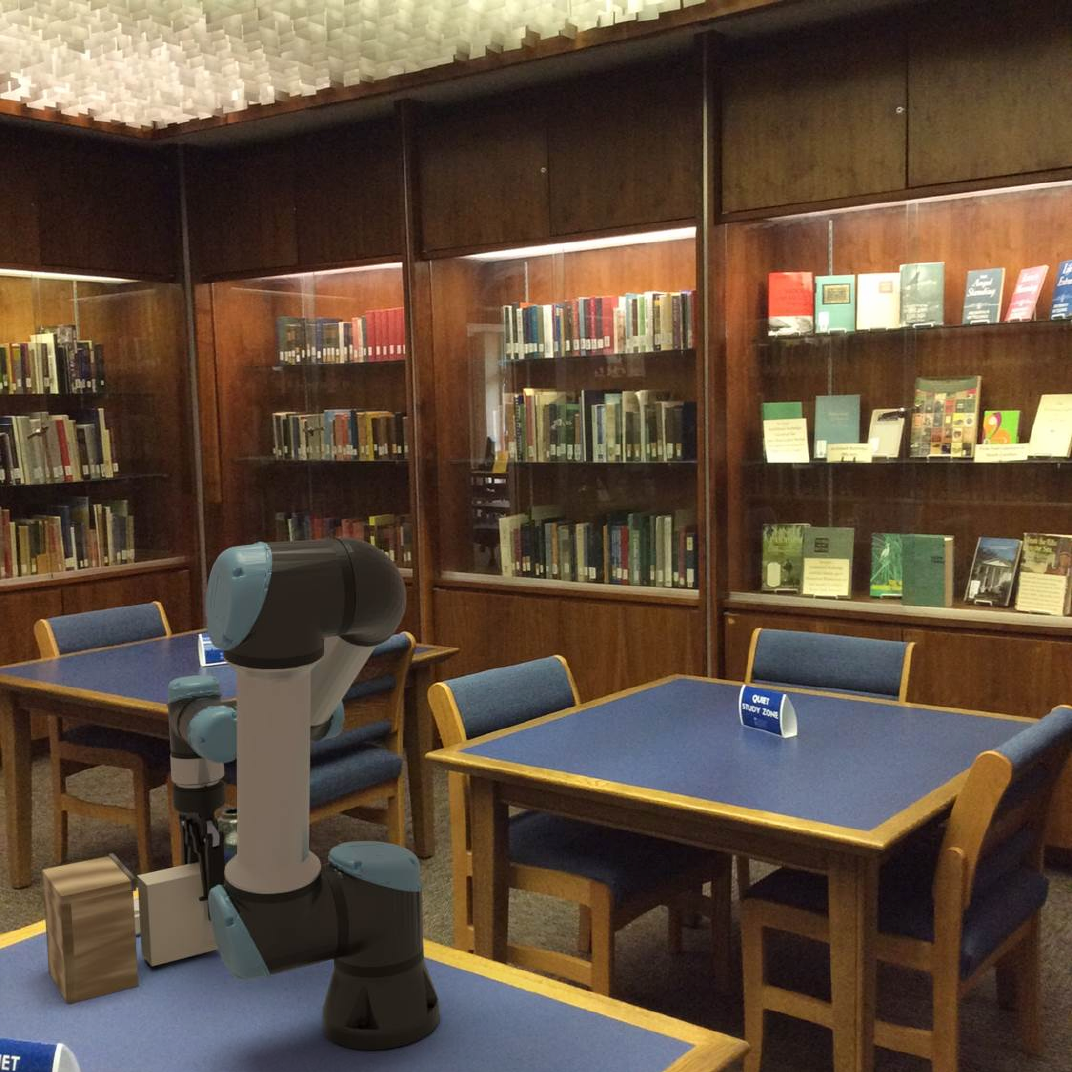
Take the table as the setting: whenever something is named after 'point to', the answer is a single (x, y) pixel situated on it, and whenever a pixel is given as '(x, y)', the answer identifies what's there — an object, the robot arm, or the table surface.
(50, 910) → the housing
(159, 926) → the tan cardboard carton
